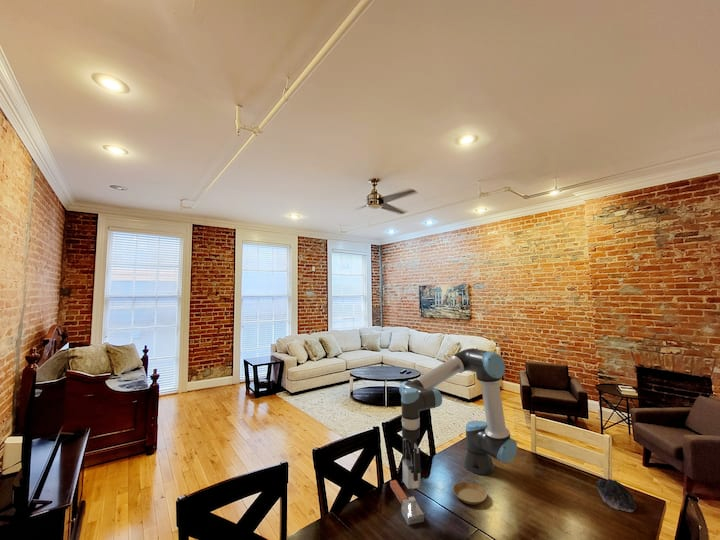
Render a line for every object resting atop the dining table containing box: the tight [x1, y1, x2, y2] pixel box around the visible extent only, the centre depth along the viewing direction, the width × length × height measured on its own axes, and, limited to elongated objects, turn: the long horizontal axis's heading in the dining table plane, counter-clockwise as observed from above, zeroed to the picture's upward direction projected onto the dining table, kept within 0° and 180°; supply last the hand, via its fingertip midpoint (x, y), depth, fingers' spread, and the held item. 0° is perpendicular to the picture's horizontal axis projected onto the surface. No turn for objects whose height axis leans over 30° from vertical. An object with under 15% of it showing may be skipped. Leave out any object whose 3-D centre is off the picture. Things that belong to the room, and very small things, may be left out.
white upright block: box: [402, 459, 421, 490], centre depth 133 cm, size 6×6×9 cm
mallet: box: [389, 479, 425, 526], centre depth 142 cm, size 26×7×8 cm, turn 15°
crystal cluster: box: [596, 478, 637, 513], centre depth 141 cm, size 13×14×10 cm
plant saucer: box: [452, 481, 488, 506], centre depth 145 cm, size 15×15×3 cm
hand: (411, 483), depth 133 cm, fingers closed on white upright block, 6 cm apart
